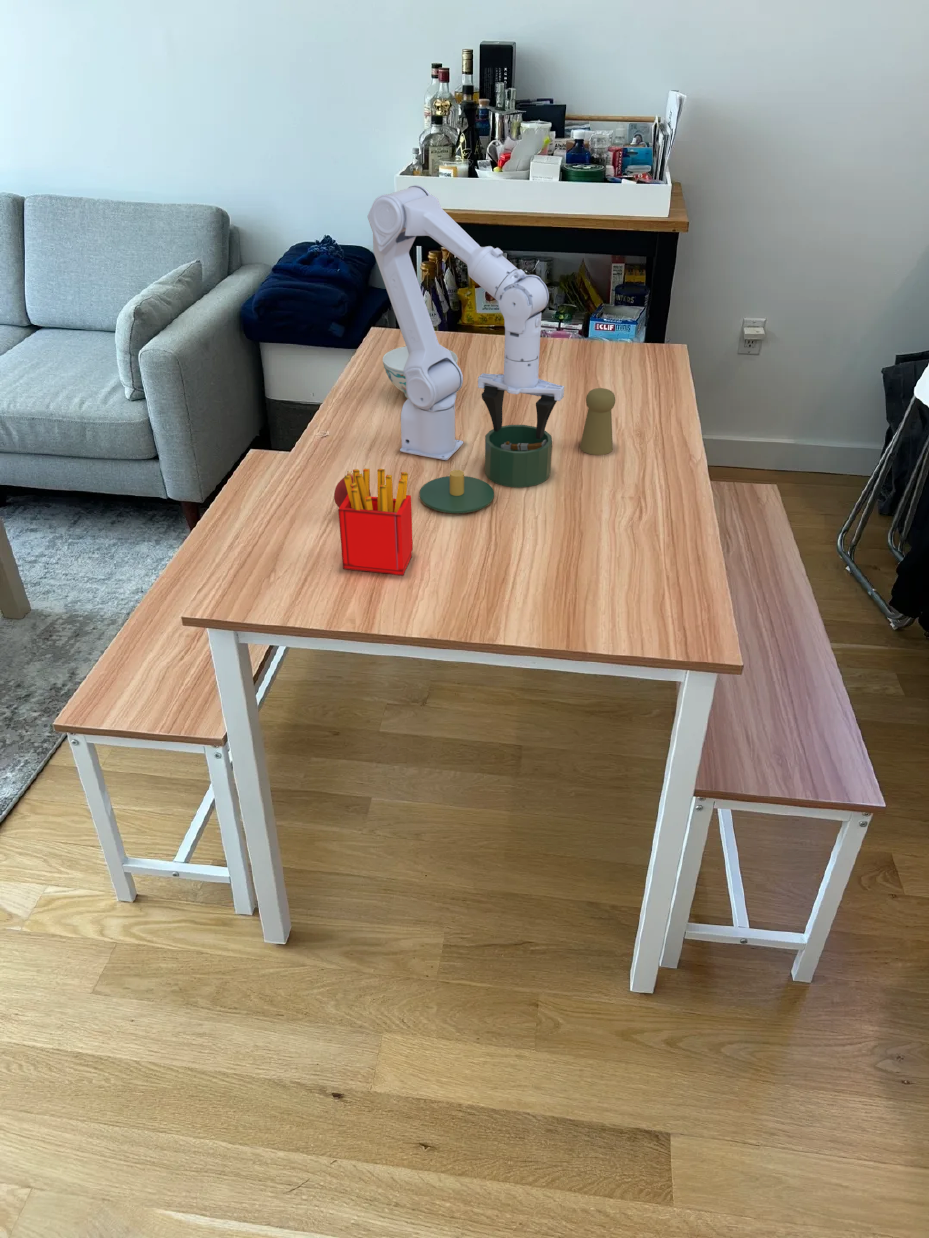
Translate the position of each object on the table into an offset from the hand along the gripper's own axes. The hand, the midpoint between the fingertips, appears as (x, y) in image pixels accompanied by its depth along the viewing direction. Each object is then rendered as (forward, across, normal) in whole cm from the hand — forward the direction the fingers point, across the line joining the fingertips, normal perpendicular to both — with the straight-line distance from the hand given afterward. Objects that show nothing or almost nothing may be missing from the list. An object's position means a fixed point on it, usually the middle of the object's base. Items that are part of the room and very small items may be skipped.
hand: (518, 433), depth 164 cm
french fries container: (+8, -9, -36) cm, 38 cm away
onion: (+8, -19, -25) cm, 32 cm away
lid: (+7, -6, -13) cm, 16 cm away
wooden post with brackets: (+5, +2, 0) cm, 5 cm away
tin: (+7, 0, 0) cm, 7 cm away
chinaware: (+6, -30, +25) cm, 39 cm away
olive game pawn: (+8, +10, +15) cm, 20 cm away
